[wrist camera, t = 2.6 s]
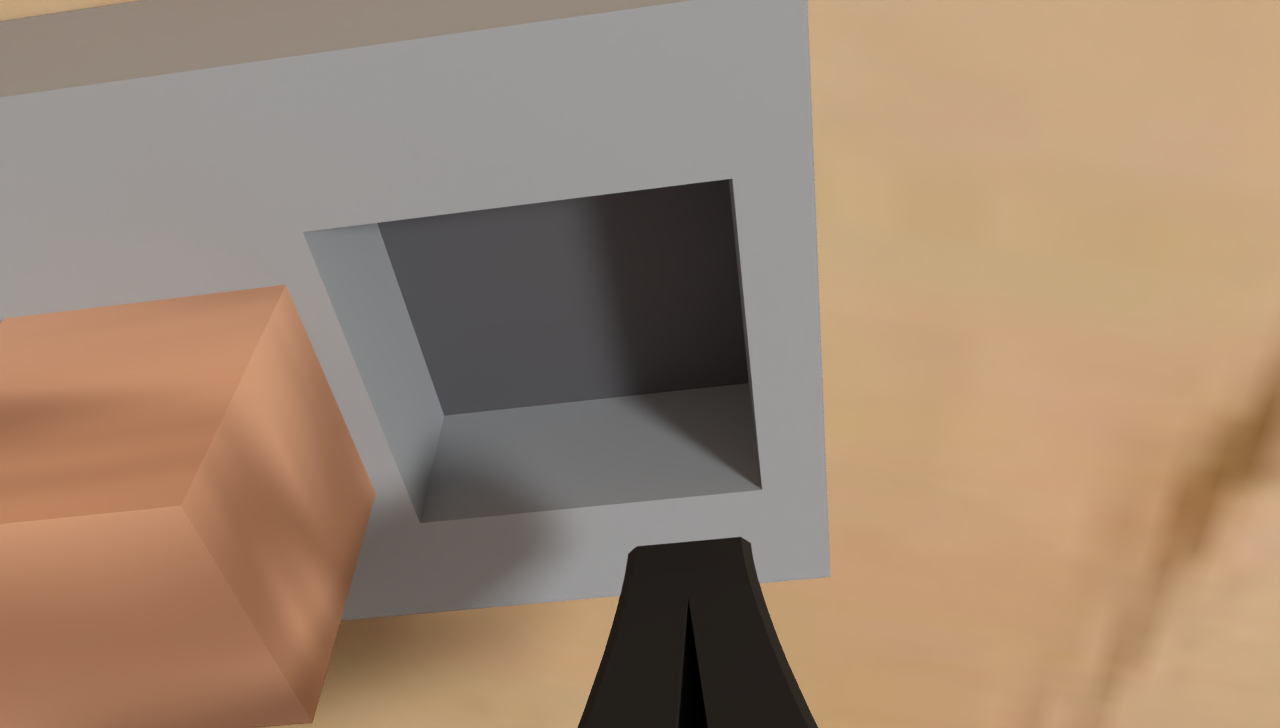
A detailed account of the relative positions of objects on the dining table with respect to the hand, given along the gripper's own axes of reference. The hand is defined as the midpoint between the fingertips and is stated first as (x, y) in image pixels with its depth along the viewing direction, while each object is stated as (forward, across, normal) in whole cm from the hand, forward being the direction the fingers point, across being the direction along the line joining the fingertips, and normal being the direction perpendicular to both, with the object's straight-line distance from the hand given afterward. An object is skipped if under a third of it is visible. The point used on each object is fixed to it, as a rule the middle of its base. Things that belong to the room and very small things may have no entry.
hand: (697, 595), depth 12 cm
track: (+6, +11, -1) cm, 13 cm away
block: (+3, +7, -1) cm, 8 cm away
